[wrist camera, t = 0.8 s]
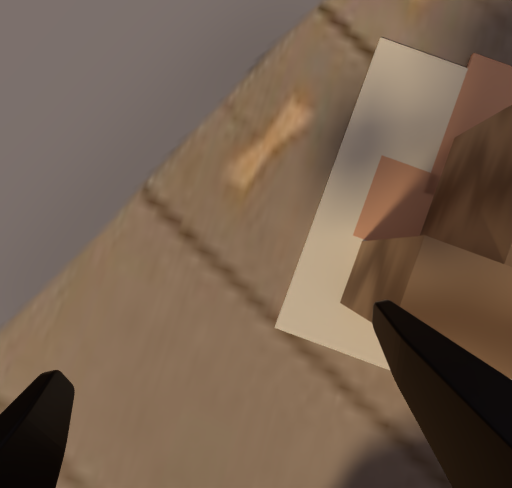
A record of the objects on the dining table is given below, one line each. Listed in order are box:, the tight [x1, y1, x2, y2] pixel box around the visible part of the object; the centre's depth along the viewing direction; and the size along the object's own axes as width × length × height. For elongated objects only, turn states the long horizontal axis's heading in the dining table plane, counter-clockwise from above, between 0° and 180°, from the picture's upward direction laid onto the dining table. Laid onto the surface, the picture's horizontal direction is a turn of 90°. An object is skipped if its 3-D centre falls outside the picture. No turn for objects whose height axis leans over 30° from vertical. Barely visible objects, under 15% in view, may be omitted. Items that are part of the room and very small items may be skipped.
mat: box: [275, 37, 512, 380], centre depth 24 cm, size 25×20×1 cm
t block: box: [340, 105, 512, 379], centre depth 19 cm, size 15×12×9 cm
